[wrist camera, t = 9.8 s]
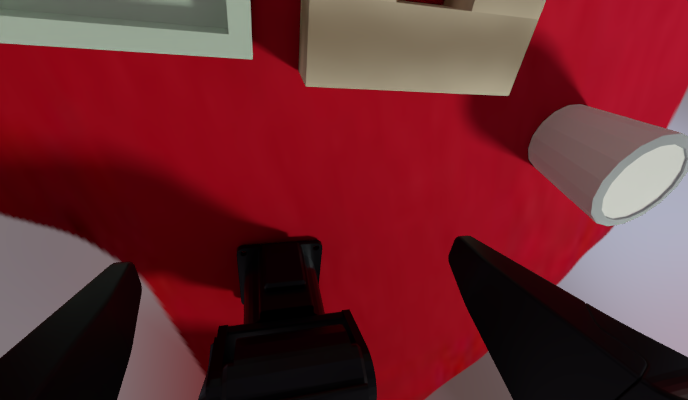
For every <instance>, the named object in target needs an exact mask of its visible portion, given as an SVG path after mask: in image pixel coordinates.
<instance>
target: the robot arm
mask: <svg viewBox="0 0 688 400" xmlns="http://www.w3.org/2000/svg"><path fill="white" fill-rule="evenodd" d="M314 246H317V247H314ZM242 251H246V252H242ZM321 255H322V244H321V242H320V241H319V240H309V241H294V242H280V243H266V244H251V245H241V246H239V247H238V248H237V261H238V272H239V282H240V292H241V302H242V304H244V324H243V325H235V326H228V325H224V326H219V329H218V335H217V337H215V339H214V343H213V344H212V345H211V349H210V359H209V366H208V371H207V375H206V378H205V381H204V384H203V387H202V389H201V393H200V395H199V399H198V400H377V387H376V378H375V372H374V367H373V362H372V359H371V355H370V352H369V350H368V347H367V345H366V343H365V341H364V339H363V337H362V335H361V333H360V331H359V329H358V326H357V324H356V322H355V320H354V318H353V316H352V314H351V312H350V310H342V311H341V312H336V313H328V314H325V312H324V308H323V303H322V298H321V294H320V289H319V275H320V265H321ZM448 259H449V264H450V267H451V269H452V272H453V274H454V277H455V280H456V282H457V285H458V287H459V290H460V293H461V295H462V298H463V300H464V303H465V305H466V307H467V309H468V311H469V313H470V315H471V317H472V319H473V321H474V323H475V325H476V327H477V329H478V331H479V333H480V335H481V337H482V339H483V341H484V343H485V345H486V347H487V349H488V351H489V353H490V355H491V357H492V359H493V361H494V363H495V365H496V367H497V369H498V371H499V372H500V374H501V376H502V379H503V380H504V382H505V384H506V386H507V388H508V390H509V392H510V394H511V396H512V398H513V400H688V357H686V356H684V355H682V354H680V353H678V352H676V351H675V350H672V349H671V348H669V347H667V346H665V345H663V344H661V343H659V342H657V341H655V340H653V339H651V338H649V337H647V336H645V335H644V334H642V333H640V332H638V331H636V330H634V329H632V328H630V327H628V326H626V325H625V324H623V323H621V322H619V321H617V320H615V319H614V318H612V317H610V316H608V315H606V314H605V313H603V312H601V311H599V310H598V309H596V308H594V307H593V306H591V305H589V304H587V303H586V304H585V302H583V301H582V300H580V299H579V298H577V297H575V296H573V295H571V294H570V293H568V292H566V291H565V290H563V289H561V288H560V287H558V286H556V285H554V284H553V283H551V282H549V281H547V280H546V279H544V278H542V277H540V276H539V275H537V274H535V273H534V272H532V271H530V270H528V269H527V268H525V267H523V266H521V265H520V264H518V263H516V262H514V261H513V260H511V259H509V258H508V257H506V256H504V255H502V254H501V253H499V252H497V251H495V250H494V249H492V248H490V247H488V246H487V245H485V244H483V243H482V242H480V241H478V240H476V239H475V238H473V237H471V236H458V237H457V238H456V239H455V240H454V243H453V246H452V248H451V251H450V253H449V257H448ZM141 287H142V286H141V282H140V279H139V276H138V273H137V271H136V268H135V265H134V264H133V263H132V262H118V263H113V264H112V265H110V266H109V267H108V268H106V269H105V270H104V271H103V272H102V273H100V274H99V275H98V276H97V277H96V278H95V279H93V280H92V281H91V282H90V283H89V284H87V285H86V286H85V287H84V288H83V289H82V290H80V291H79V292H78V293H77V294H76V295H74V296H73V297H72V298H71V299H70V300H68V301H67V302H66V303H65V304H64V305H63V306H61V307H60V308H59V309H58V310H57V311H55V312H54V313H53V314H52V315H51V316H49V317H48V318H47V319H46V320H45V321H44V322H42V323H41V324H40V325H39V326H38V327H36V328H35V329H34V330H33V331H32V332H31V333H29V334H28V335H27V336H26V337H25V338H24V339H22V340H21V341H20V342H19V343H18V344H16V345H15V346H14V347H13V348H12V349H10V350H9V351H8V352H7V353H6V354H5V355H3V357H1V358H0V400H117V398H118V394H119V391H120V388H121V384H122V381H123V378H124V375H125V371H126V368H127V365H128V361H129V357H130V354H131V350H132V345H133V338H134V334H135V328H136V322H137V315H138V310H139V305H140V299H141V292H142V288H141Z"/></svg>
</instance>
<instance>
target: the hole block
mask: <svg viewBox="0 0 688 400" xmlns="http://www.w3.org/2000/svg"><path fill="white" fill-rule="evenodd" d="M545 1H546V0H444V4H443V5H435V4H427V3H419V2H410V1H402V0H301V13H300V44H299V73H300V75H301V77H302V79H303V82H304V84H305V86H307V87H328V88H349V89H370V90H391V91H413V92H434V93H455V94H476V95H497V96H509V94H510V91H511V89H512V86H513V84H514V81H515V78H516V76H517V73H518V71H519V68H520V66H521V63H522V60H523V58H524V55H525V53H526V50H527V48H528V45H529V42H530V40H531V37H532V35H533V32H534V30H535V27H536V24H537V22H538V19H539V17H540V14H541V12H542V9H543V6H544V4H545Z"/></svg>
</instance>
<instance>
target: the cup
mask: <svg viewBox="0 0 688 400" xmlns="http://www.w3.org/2000/svg"><path fill="white" fill-rule="evenodd" d="M528 159H529V161H530V162H531V163H532V165H533V166H534V167H535V168H536V169H537V170H538V171H539V172H540V173H541V174H543V175H544V176H545V177H546V178H547V179H548V180H549V181H550V182H551V183H553V184H554V185H555V186H556V187H557V188H558V189H559V190H560V191H561V192H563V193H564V194H565V195H566V196H567V197H568V198H569V199H570V200H571V201H573V202H574V203H575V204H576V205H577V206H578V207H579V208H580V209H581V210H583V211H584V212H585V213H586V214H587V215H588V216H589V217H590V218H591V219H593V220H594V221H595V222H596V223H598V224H602V225H605V226H612V225H618V224H623V223H626V222H628V221H630V220H633V219H635V218H637V217H639V216H641V215H643V214H645V213H646V212H647V211H649V210H650V209H652V208H653V207H655V206H656V205H657V204H659V203H660V202H661V201H663V199H665V198H666V197H667V195H669V194H670V193H671V192H672V191H673V190H674V189H675V188H676V187H677V186H678V184H679V183H680V182H681V180H682V179H683V177H684V176H685V174H686V173H687V172H688V136H686V135H684V134H682V133H679V132H676V131H672V130H668V129H665V128H662V127H658V126H655V125H651V124H648V123H644V122H641V121H638V120H634V119H631V118H627V117H624V116H620V115H617V114H613V113H610V112H606V111H603V110H599V109H596V108H593V107H589V106H586V105H582V104H576V105H568V106H566V107H563V108H561V109H559V110H557V111H555V112H554V113H553V114H551V115H550V116H549V117H548V118H547V119H546V120H544V121H543V122H542V123H541V125H540V126H539V127H538V129H537V130H536V132H535V133H534V134H533V136H532V139H531V142H530V144H529V147H528Z"/></svg>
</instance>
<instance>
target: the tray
mask: <svg viewBox="0 0 688 400" xmlns="http://www.w3.org/2000/svg"><path fill="white" fill-rule="evenodd" d="M0 43H8V44H24V45H39V46H54V47H70V48H85V49H100V50H115V51H131V52H146V53H161V54H177V55H192V56H207V57H223V58H238V59H253V51H252V26H251V2H250V0H0Z"/></svg>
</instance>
